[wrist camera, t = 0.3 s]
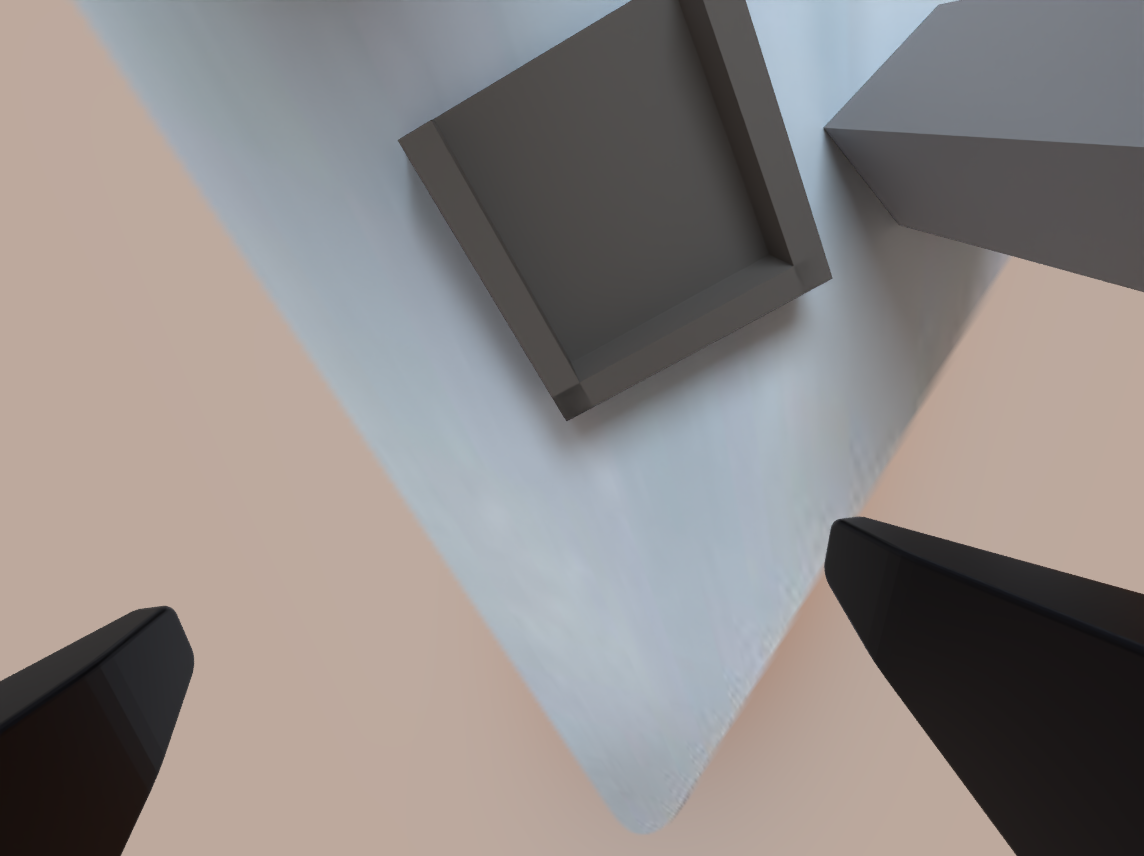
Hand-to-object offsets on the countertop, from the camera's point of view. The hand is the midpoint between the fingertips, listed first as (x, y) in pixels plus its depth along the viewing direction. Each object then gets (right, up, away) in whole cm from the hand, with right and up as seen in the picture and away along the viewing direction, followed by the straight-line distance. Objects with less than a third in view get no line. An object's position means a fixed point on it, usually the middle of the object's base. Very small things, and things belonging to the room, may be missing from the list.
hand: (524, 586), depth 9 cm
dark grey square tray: (+2, +9, +12) cm, 15 cm away
